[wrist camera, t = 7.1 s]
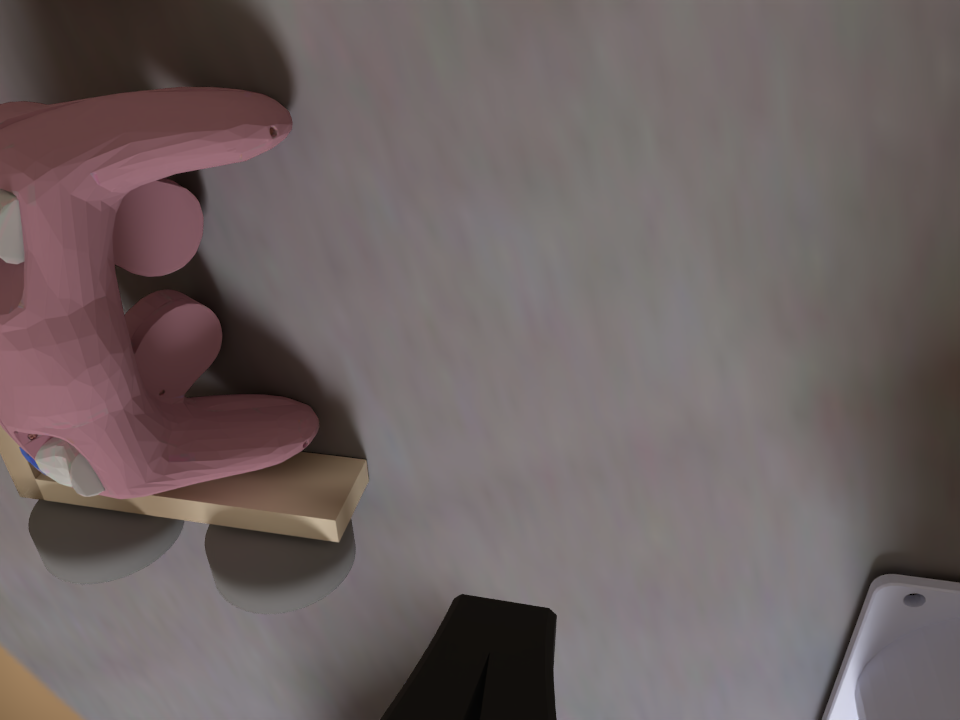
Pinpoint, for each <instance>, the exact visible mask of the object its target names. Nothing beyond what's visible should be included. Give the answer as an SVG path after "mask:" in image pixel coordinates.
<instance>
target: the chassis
mask: <svg viewBox="0 0 960 720" xmlns="http://www.w3.org/2000/svg"><path fill="white" fill-rule="evenodd" d="M19 447H20V446H19V445H18V444H17V443H16V442H15V441H14V440H13V439H12V438H11V437H10V436H9V435H8V434H7V432H6V431H5V430H4V429H3V428H2V427H1V425H0V453H1V456H2V458H3V460H4V462H5V464H6V467H7V469H8V471H9V473H10V475H11V477H12V480H13V482H14V484H15V486H16V488H17V491H18V493H19V495H20V497H25V498H32V499H39V501H38V502H37V503H36V505H35V506H34V508H33V510H32V512H31V515H30V518H29V532H30V535H31V537H32V539H33V541H34V544H35V546H36V548H37V550H38V552H39V554H40V556H41V559H42V561H43V563H44V565H45V567H46V568H47V570H48V571H49V572H50V573H51V574H52V575H53V576H55V577H57V578H58V579H61V580H63V581H66V582H70V583H75V584H97V583H104V582H109V581H113V580H116V579H120V578H123V577H125V576H128V575H131V574H133V573H135V572H137V571H139V570H141V569H143V568H145V567H146V566H148V565H150V564H151V563H153V562H154V561H156V560H157V559H158V558H160V557H161V556H162V555H163V554H164V553H165V552H166V551H167V550H168V549H169V548H170V547H171V546H172V545H173V544H174V542H175V541H176V540H177V538H178V537H179V535H180V533H181V531H182V528H183V525H184V520H186V521H193V522H200V523H207V524H210V525H209V527H208V530H207V533H206V537H205V550H206V554H207V558H208V561H209V564H210V568H211V571H212V574H213V578H214V581H215V584H216V587H217V589H218V591H219V592H220V594H221V595H222V596H223V598H224V599H225V600H226V601H228V602H229V603H230V604H232V605H234V606H235V607H237V608H239V609H242V610H245V611H248V612H252V613H258V614H279V613H286V612H291V611H295V610H298V609H302V608H304V607H307V606H309V605H311V604H314V603H316V602H317V601H319V600H321V599H323V598H324V597H326V596H327V595H328V594H330V593H331V592H332V591H333V590H335V589H336V588H337V587H338V586H339V585H340V584H341V583H342V582H343V580H344V579H345V578H346V576H347V575H348V573H349V571H350V569H351V568H352V565H353V562H354V559H355V550H356V547H355V540H354V534H353V527H352V520H351V517H352V515H353V513H354V511H355V508H356V506H357V504H358V502H359V500H360V498H361V496H362V494H363V492H364V490H365V488H366V486H367V484H368V482H369V477H368V469H367V462H366V460H364V459H356V458H348V457H340V456H332V455H323V454H315V453H307V452H299V453H298V454H296V455H294V456H292V457H291V458H289V459H287V460H285V461H284V462H282V463H279V464H277V465H273V466H270V467H267V468H263V469H260V470H256V471H251V472H246V473H242V474H237V475H233V476H228V477H224V478H219V479H214V480H210V481H205V482H201V483H196V484H192V485H189V486H185V487H181V488H177V489H173V490H169V491H165V492H161V493H157V494H153V495H149V496H145V497H137V498H129V499H117V498H112V497H107V496H101V495H95V496H91V497H84V496H82V495H80V494H78V493H76V491H75V490H74V488H72V487H69V486H66V485H62V484H59V483H58V482H56V481H55V480H53V479H51V478H50V477H48V476H46V475H44V474H43V473H41V472H40V471H38V470H37V469H36V468H35V467H34V466H33V465H32V464H31V463H30V462H28V461H27V460H26V458H25V457H24V456H23V455H22V453H21V450H20V448H19Z"/></svg>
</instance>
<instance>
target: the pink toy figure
mask: <svg viewBox="0 0 960 720" xmlns="http://www.w3.org/2000/svg"><path fill="white" fill-rule="evenodd" d="M292 125H293V124H292V118H291V116H290V113H289V111H288V110H287V109H286V108H285V107H283V106H282V105H281V104H280V103H279V102H278V101H276V100H274V99H272V98H271V97H269V96H267V95H264V94H261V93H255V92H250V91H245V90H239V89H229V88H218V87H175V88H165V89H155V90H146V91H136V92H126V93H117V94H111V95H105V96H99V97H93V98H87V99H81V100H75V101H69V102H63V103H57V104H51V105H45V104H42V103H35V102H27V101H21V102H8V103H4V104H0V425H1V427H2V428H3V429H4V430H5V431H6V432H7V434H8V435H9V436H10V437H11V438H12V439H13V440H14V441H15V442H16V443H17V444H18V445H19V446H20V447H19V448H20V450H21V453H22V455H23V456H24V457H25V458H26V460H27V461H28V462H30V463H31V464H32V465H33V466H34V467H35V468H36V469H37V470H38V471H40V472H41V473H43V474H44V475H46V476H48V477H50V478H51V479H53V480H55V481H56V482H58V483H59V484H62V485H66V486H69V487H72V488H74V490H75V491H76V493H78V494H80V495H82V496H84V497H91V496H95V495H101V496H107V497H112V498H117V499H129V498H137V497H145V496H149V495H153V494H157V493H161V492H165V491H169V490H173V489H177V488H181V487H185V486H189V485H192V484H196V483H201V482H205V481H210V480H214V479H219V478H224V477H228V476H233V475H237V474H242V473H246V472H251V471H256V470H260V469H263V468H267V467H270V466H273V465H277V464H279V463H282V462H284V461H285V460H287V459H289V458H291V457H292V456H294V455H296V454H298V453H299V452H301V451H302V450H303V449H304V448H306V447H307V446H308V445H309V444H310V443H311V441H312V440H313V438H314V437H315V435H316V434H317V432H318V429H319V419H318V417H317V416H316V414H315V413H314V411H313V410H312V408H311V407H310V406H309V405H307V404H303V403H301V402H298V401H296V400H293V399H290V398H286V397H281V396H272V395H260V394H234V395H214V396H203V397H192V398H187V397H185V393H186V392H187V391H188V390H189V388H190V387H191V386H192V385H193V383H194V382H195V381H196V380H197V379H198V378H199V377H200V376H201V375H202V374H203V373H204V372H205V371H206V370H207V369H208V368H209V367H210V365H211V364H212V363H213V361H214V360H215V358H216V357H217V355H218V353H219V351H220V348H221V343H222V329H221V325H220V322H219V320H218V318H217V316H216V315H215V314H214V313H213V311H212V310H211V309H209V308H208V307H206V306H205V305H203V304H201V303H199V302H197V301H196V300H194V299H192V298H190V297H188V296H187V295H185V294H183V293H181V292H179V291H175V290H168V289H166V290H159V291H156V292H153V293H151V294H149V295H147V296H145V297H144V298H142V299H140V300H139V301H138V302H137V303H136V304H135V305H134V306H133V307H132V308H131V309H130V310H128V312H127V313H126V314H125V315H124V312H123V307H122V302H121V297H120V292H119V288H118V283H117V278H116V273H115V265H118V266H119V267H121V268H123V269H125V270H127V271H129V272H131V273H133V274H138V275H142V276H147V277H153V276H163V275H167V274H170V273H172V272H174V271H177V270H179V269H180V268H182V267H184V266H185V265H186V264H187V263H188V262H189V261H190V260H191V259H192V257H193V256H194V255H195V253H196V252H197V249H198V247H199V244H200V241H201V238H202V235H203V213H202V209H201V206H200V203H199V201H198V200H197V198H196V197H195V196H194V195H193V194H192V193H191V192H190V191H188V190H187V189H185V188H183V187H182V186H180V185H179V184H177V183H176V182H174V181H172V180H170V179H168V178H165V177H168V176H171V175H174V174H178V173H183V172H188V171H194V170H199V169H205V168H210V167H215V166H221V165H226V164H232V163H237V162H242V161H246V160H249V159H251V158H253V157H255V156H257V155H259V154H261V153H263V152H266V151H268V150H270V149H272V148H273V147H275V146H276V145H277V144H279V143H280V142H281V141H283V140H284V139H285V138H286V137H287V135H288V134H289V133H290V131H291V130H292Z"/></svg>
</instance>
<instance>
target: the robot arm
mask: <svg viewBox="0 0 960 720" xmlns="http://www.w3.org/2000/svg"><path fill="white" fill-rule="evenodd" d="M912 593H918V594H916V595H909V594H912ZM556 619H557V615H556V614H555V613H554V612H553V611H552V610H550V609H549V608H545V607H539V606H532V605H526V604H520V603H514V602H508V601H501V600H495V599H489V598H483V597H477V596H470V595H464V594H461V595H459V596H458V597H456V598H454V600H453V602H452V604H451V606H450V608H449V610H448V612H447V614H446V616H445V618H444V620H443V621H442V623H441V625H440V627H439V629H438V630H437V632H436V634H435V636H434V637H433V639H432V641H431V643H430V644H429V646H428V648H427V649H426V651H425V653H424V654H423V656H422V658H421V659H420V661H419V662H418V664H417V665H416V667H415V669H414V670H413V672H412V673H411V675H410V677H409V678H408V680H407V681H406V683H405V684H404V686H403V687H402V689H401V690H400V692H399V693H398V695H397V696H396V698H395V699H394V700H393V702H392V703H391V705H390V706H389V708H388V709H387V711H386V712H385V714H384V715H383V717H382V718H381V719H380V720H556V709H555V694H554V674H553V666H554V651H555V635H556ZM822 720H960V583H959V582H951V581H944V580H936V579H928V578H921V577H913V576H906V575H898V574H885V575H882V576H879V577H878V578H876V579H874V580H873V582H872V583H871V585H870V588H869V590H868V593H867V596H866V599H865V601H864V604H863V607H862V610H861V612H860V615H859V618H858V621H857V623H856V626H855V629H854V632H853V634H852V637H851V640H850V643H849V645H848V648H847V651H846V654H845V656H844V659H843V662H842V665H841V668H840V670H839V673H838V676H837V679H836V681H835V684H834V687H833V690H832V692H831V695H830V698H829V701H828V703H827V706H826V709H825V712H824V714H823V717H822Z"/></svg>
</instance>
